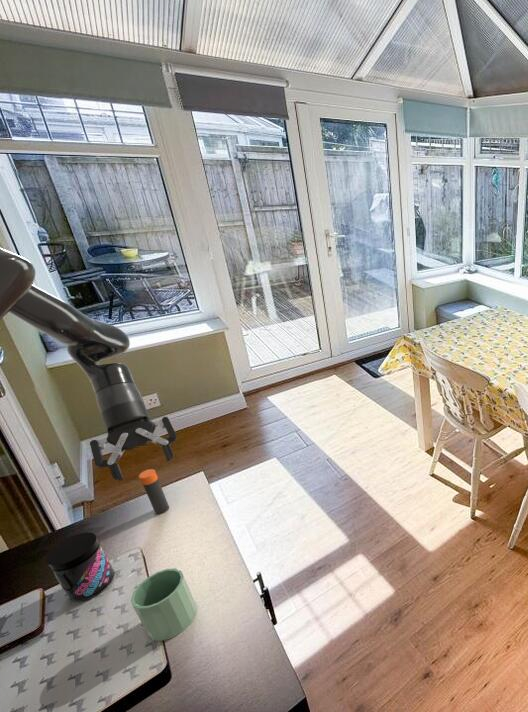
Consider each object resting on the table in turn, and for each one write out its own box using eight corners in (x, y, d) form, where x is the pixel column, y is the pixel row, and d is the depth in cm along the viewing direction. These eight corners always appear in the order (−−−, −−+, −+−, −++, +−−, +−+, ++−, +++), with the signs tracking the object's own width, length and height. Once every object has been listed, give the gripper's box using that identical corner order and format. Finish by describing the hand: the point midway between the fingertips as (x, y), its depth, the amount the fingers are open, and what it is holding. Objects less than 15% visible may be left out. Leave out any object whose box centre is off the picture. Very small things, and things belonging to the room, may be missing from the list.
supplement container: (69, 611, 75) (44, 572, 71) (67, 585, 79) (44, 547, 75) (118, 586, 79) (98, 548, 75) (114, 562, 84) (95, 526, 79)
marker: (153, 516, 94) (137, 479, 90) (156, 507, 96) (140, 471, 92) (168, 512, 95) (153, 475, 91) (170, 503, 98) (156, 467, 93)
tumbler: (143, 648, 70) (125, 615, 66) (154, 610, 76) (137, 577, 72) (193, 629, 73) (178, 597, 69) (199, 594, 79) (186, 562, 75)
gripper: (75, 414, 88) (100, 484, 85) (159, 390, 97) (183, 452, 95) (83, 423, 93) (107, 489, 91) (162, 400, 103) (185, 459, 100)
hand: (146, 470), depth 93 cm, fingers open, 8 cm apart
